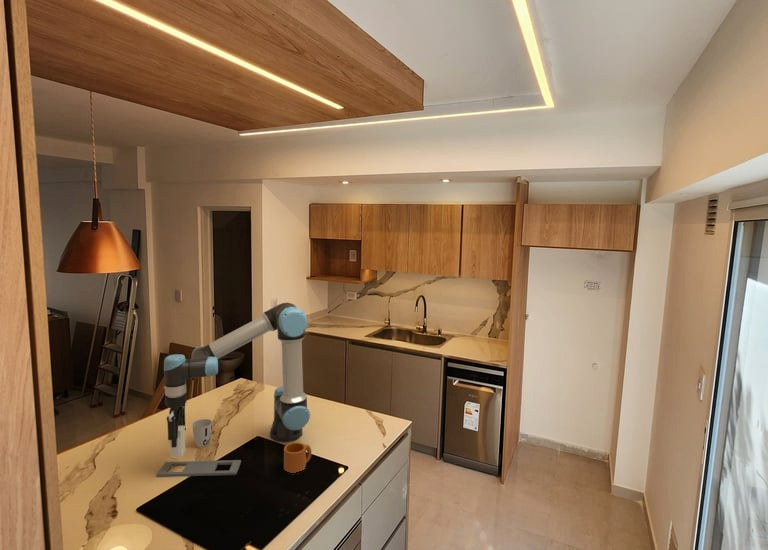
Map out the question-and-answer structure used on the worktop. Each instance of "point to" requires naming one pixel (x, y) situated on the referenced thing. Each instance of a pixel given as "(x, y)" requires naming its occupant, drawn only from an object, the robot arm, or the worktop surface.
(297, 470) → the mug
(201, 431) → the cup
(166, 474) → the socket strip
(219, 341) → the robot arm
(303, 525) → the worktop surface
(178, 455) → the plug
